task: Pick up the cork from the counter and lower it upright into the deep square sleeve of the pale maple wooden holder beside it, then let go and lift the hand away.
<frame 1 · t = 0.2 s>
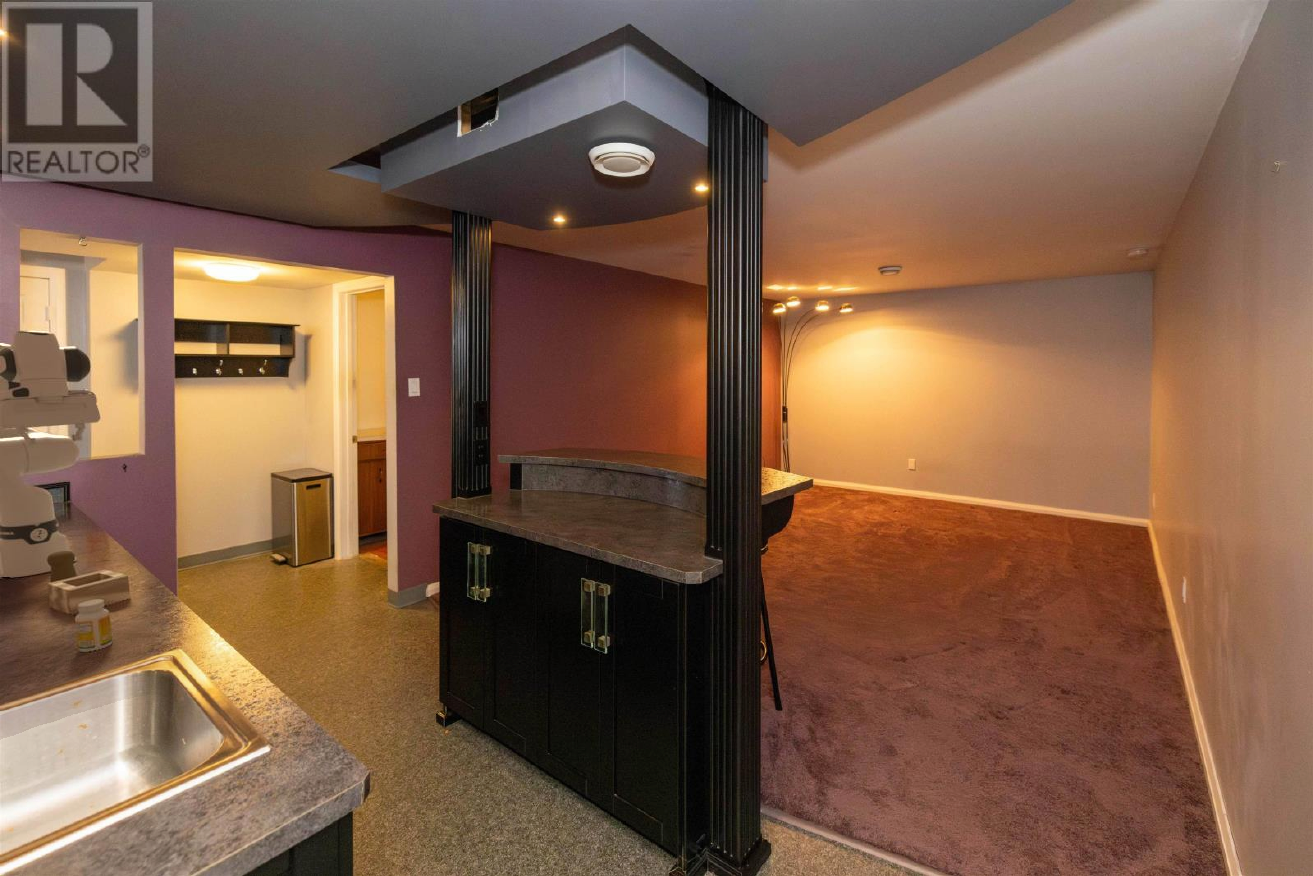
hand: (54, 443, 165), 38 cm above the worktop, tool pointing down, fingers open, 8 cm apart
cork: (65, 593, 162), on the worktop
supplement bottle: (96, 647, 130), on the worktop
shaker holder: (91, 602, 154), on the worktop
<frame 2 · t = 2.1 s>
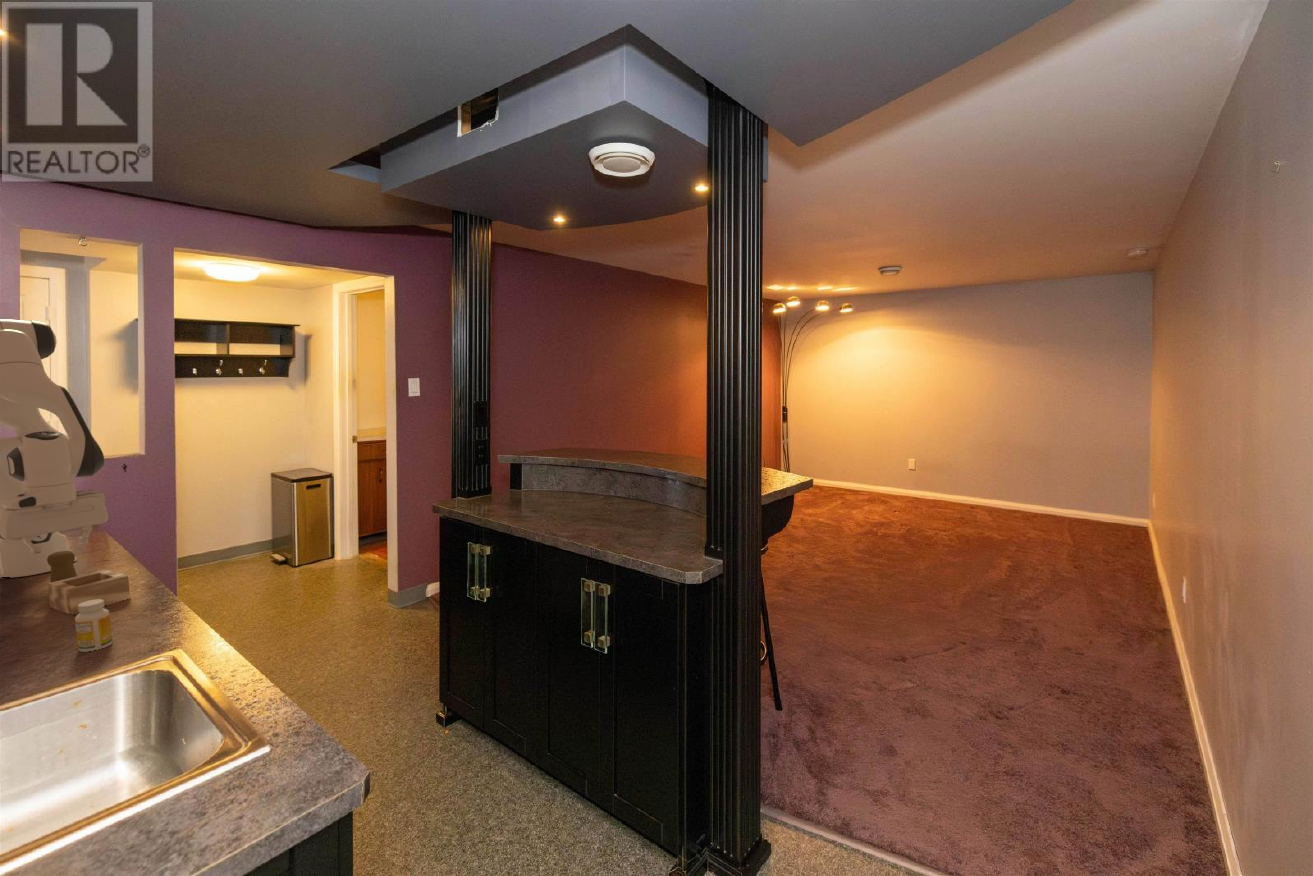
hand: (60, 548, 160), 12 cm above the worktop, tool pointing down, fingers open, 8 cm apart
nothing on the worktop moved.
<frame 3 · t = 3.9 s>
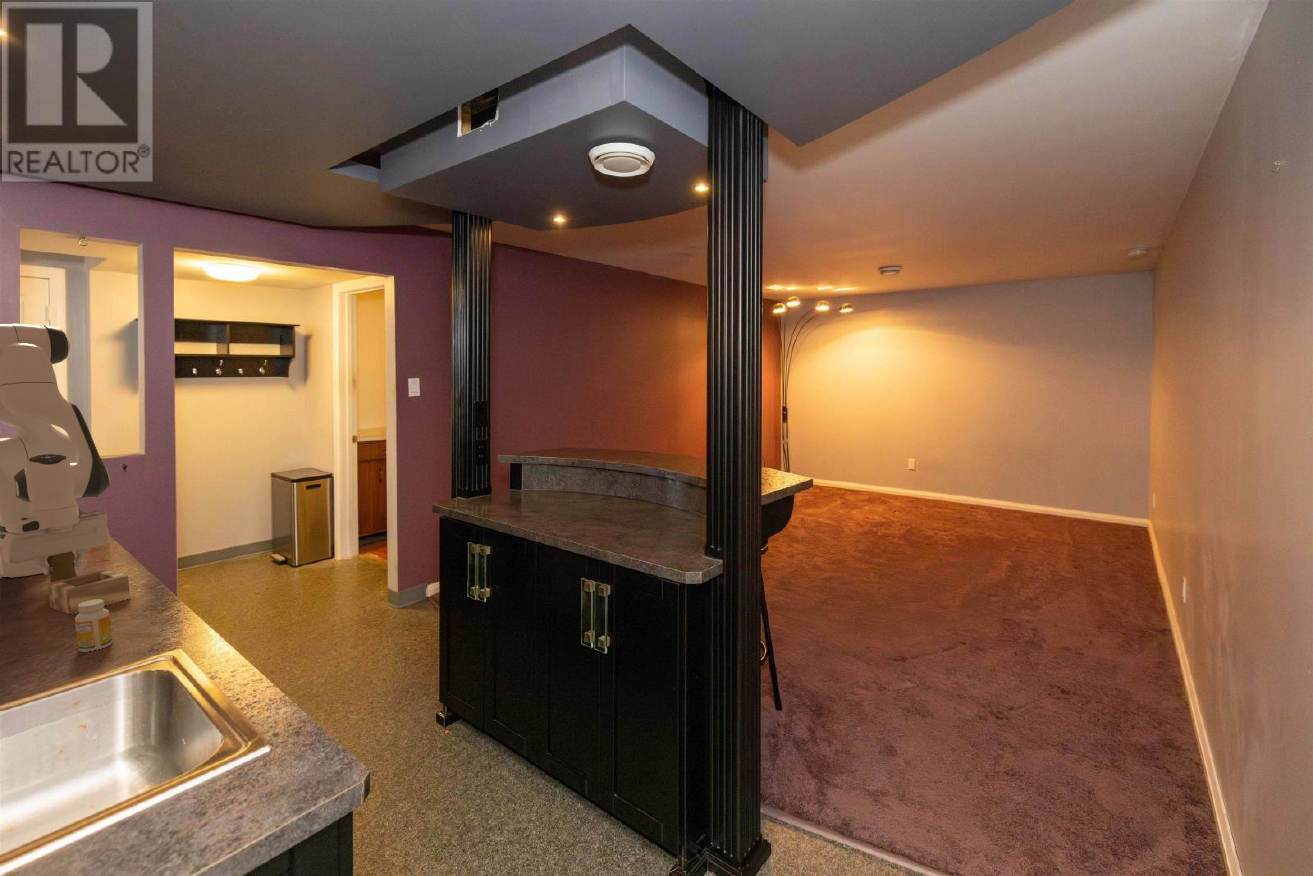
hand: (62, 570, 161), 6 cm above the worktop, tool pointing down, fingers closed on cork, 4 cm apart
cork: (65, 593, 162), on the worktop, touching gripper
everything else where it was.
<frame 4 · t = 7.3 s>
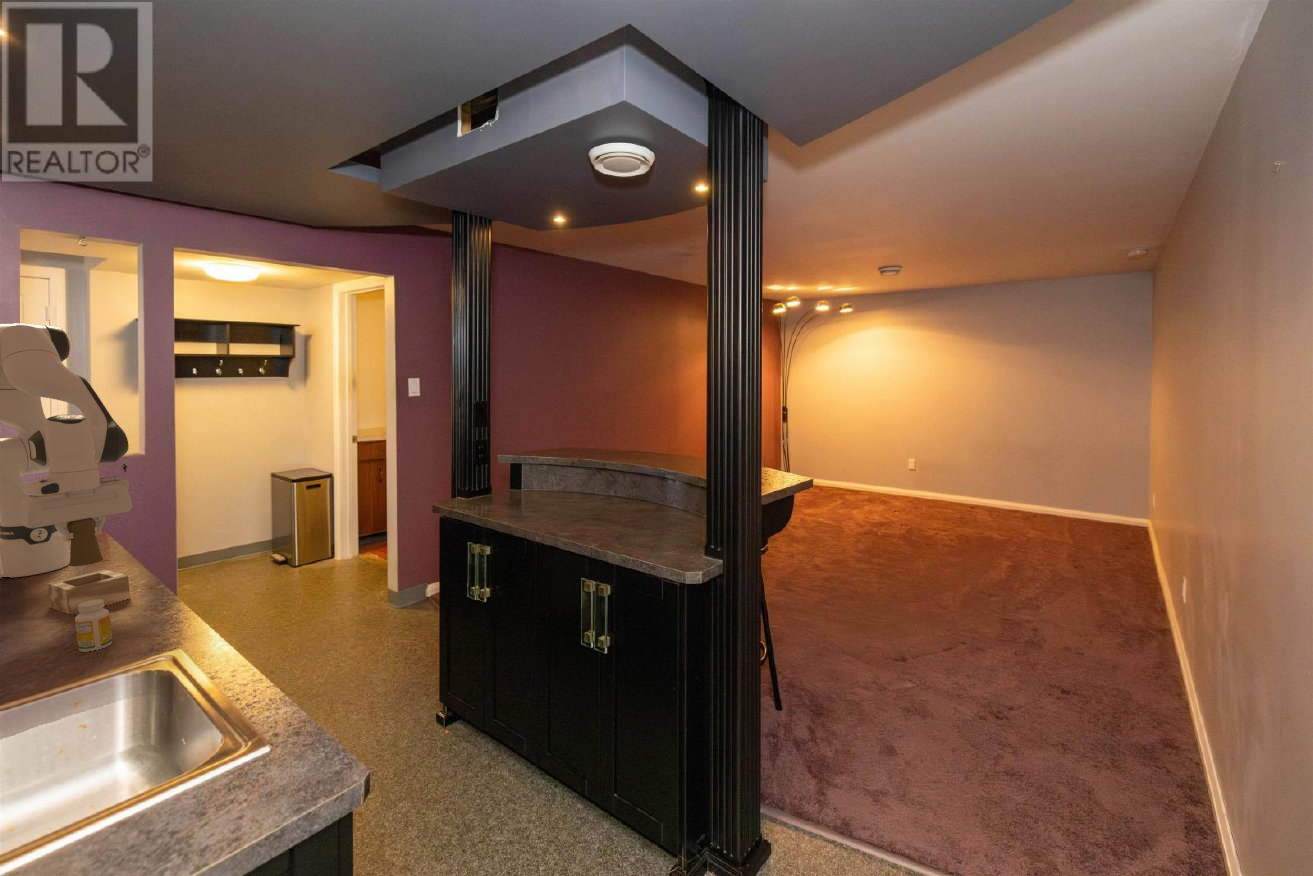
hand: (83, 537, 152), 17 cm above the worktop, tool pointing down, fingers closed on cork, 4 cm apart
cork: (86, 563, 153), point 10 cm above the worktop, touching gripper
everything else where it was.
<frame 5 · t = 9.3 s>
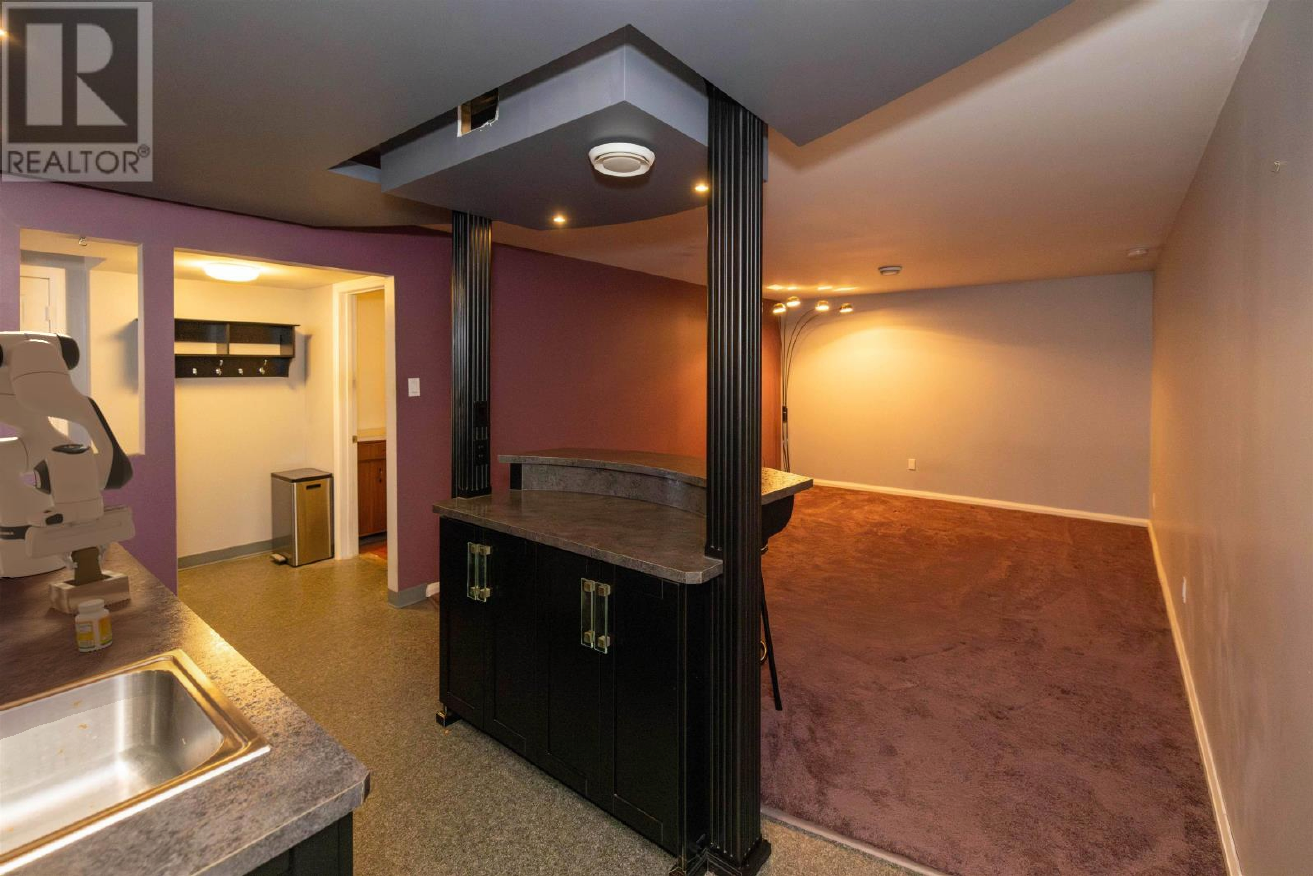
hand: (86, 565, 153), 9 cm above the worktop, tool pointing down, fingers closed on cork, 4 cm apart
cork: (90, 591, 154), point 3 cm above the worktop, touching gripper
everything else where it was.
when the fingers open (7 cm above the worktop, at t = 11.1 s): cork drops 1 cm, resting in shaker holder.
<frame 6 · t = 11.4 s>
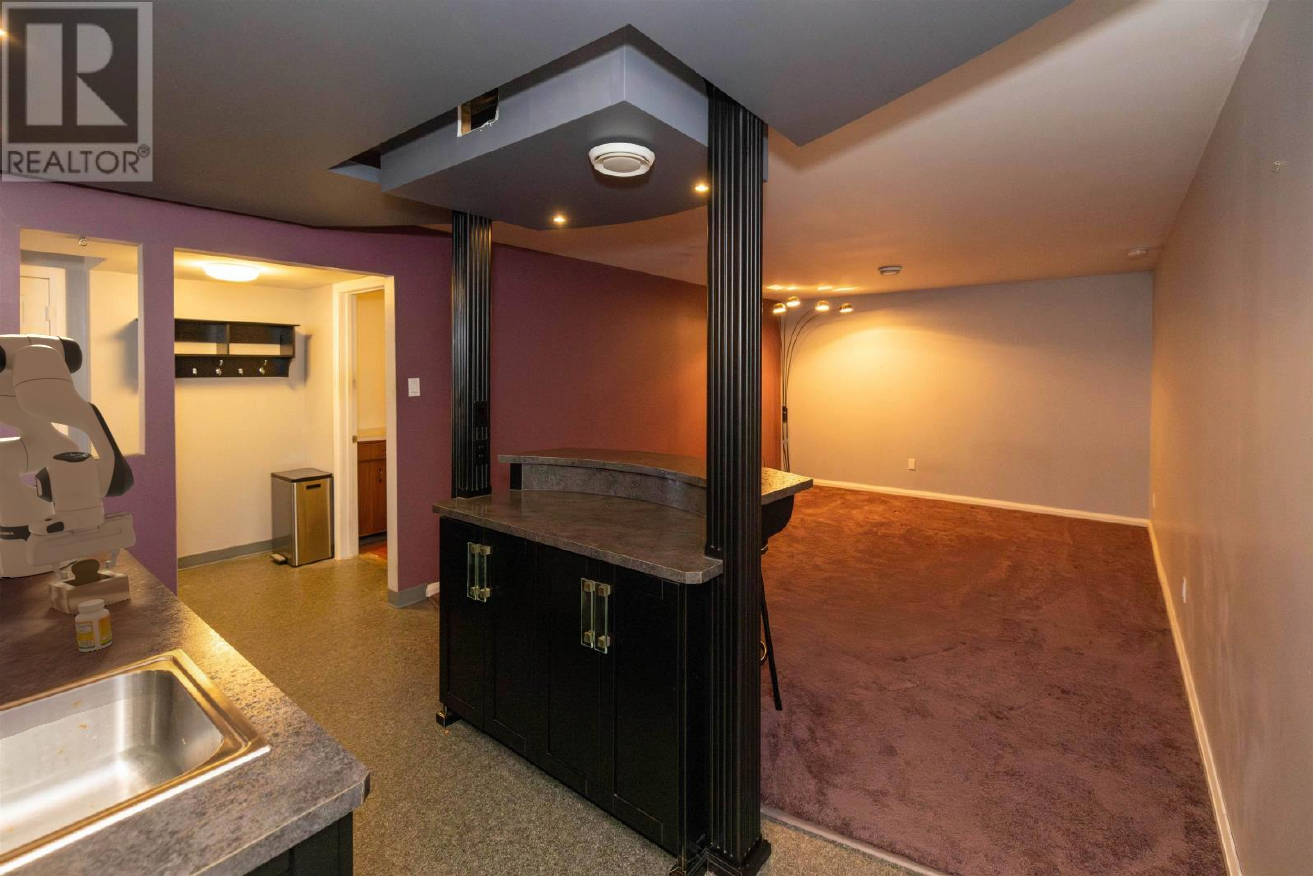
hand: (87, 573, 153), 8 cm above the worktop, tool pointing down, fingers open, 8 cm apart
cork: (90, 604, 154), resting in shaker holder
everything else where it was.
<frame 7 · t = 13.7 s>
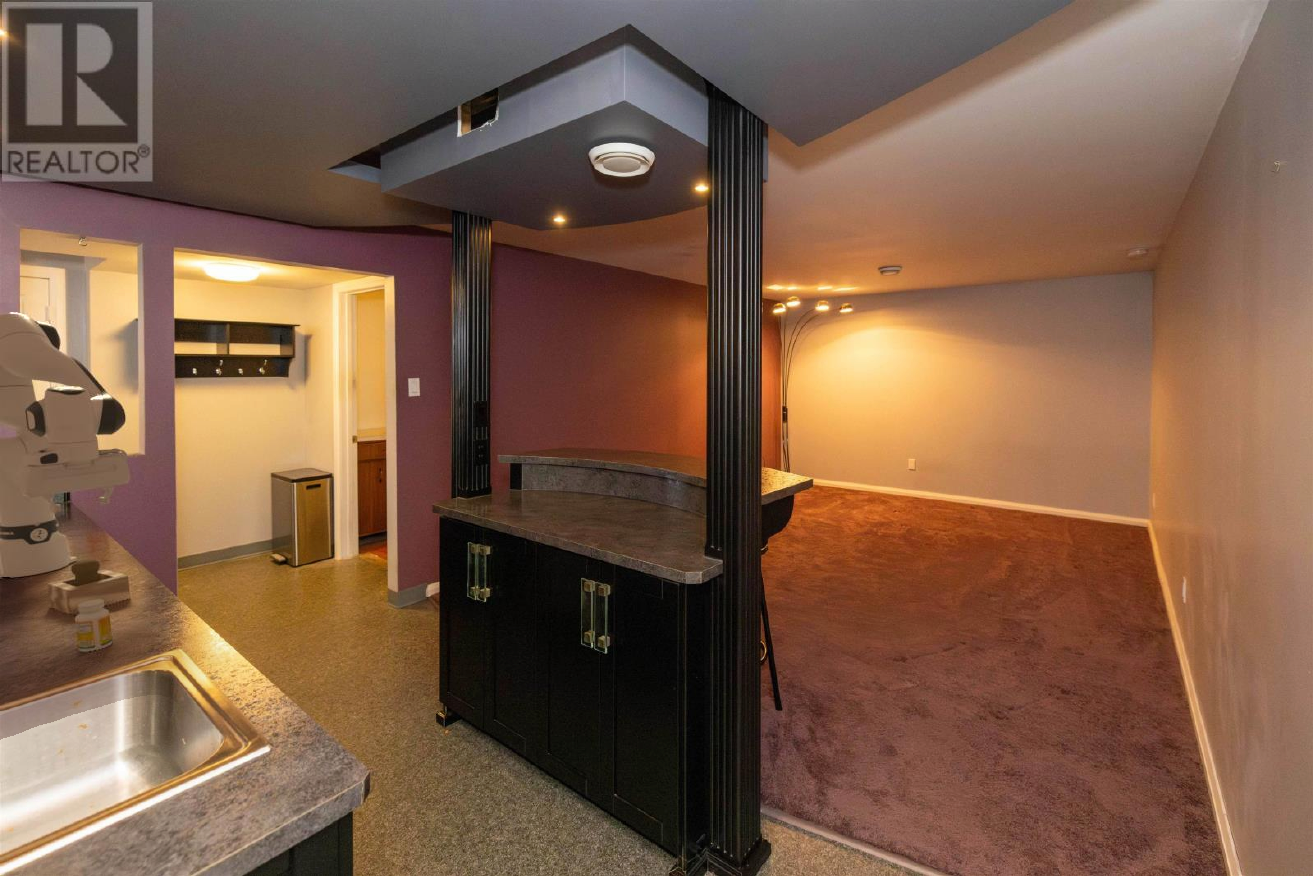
hand: (81, 508, 154), 24 cm above the worktop, tool pointing down, fingers open, 8 cm apart
nothing on the worktop moved.
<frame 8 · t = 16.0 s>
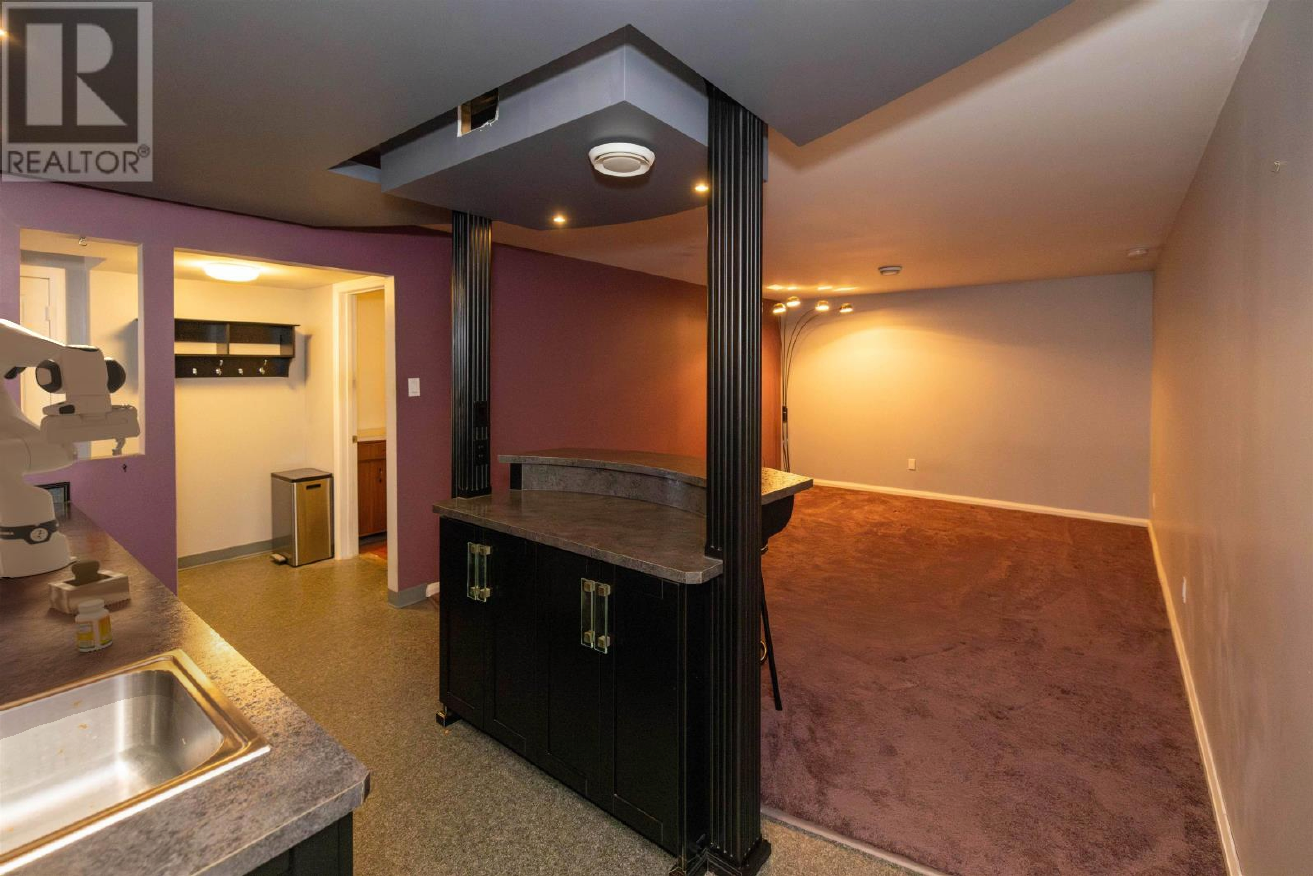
hand: (95, 457, 167), 34 cm above the worktop, tool pointing down, fingers open, 8 cm apart
nothing on the worktop moved.
at the end: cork 0.2 cm off-centre on the shaker holder, point 0.0 cm above the shaker holder's base; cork tilted 0°; the gripper is holding nothing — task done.
